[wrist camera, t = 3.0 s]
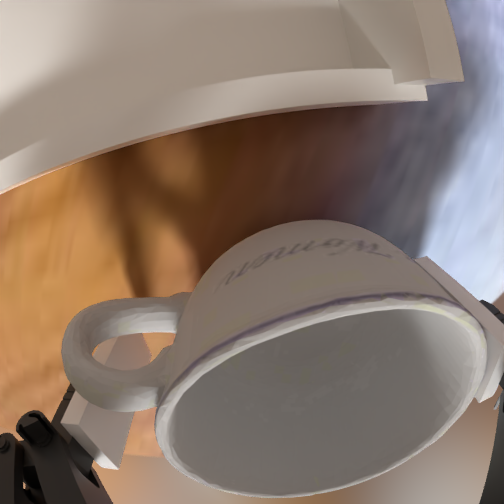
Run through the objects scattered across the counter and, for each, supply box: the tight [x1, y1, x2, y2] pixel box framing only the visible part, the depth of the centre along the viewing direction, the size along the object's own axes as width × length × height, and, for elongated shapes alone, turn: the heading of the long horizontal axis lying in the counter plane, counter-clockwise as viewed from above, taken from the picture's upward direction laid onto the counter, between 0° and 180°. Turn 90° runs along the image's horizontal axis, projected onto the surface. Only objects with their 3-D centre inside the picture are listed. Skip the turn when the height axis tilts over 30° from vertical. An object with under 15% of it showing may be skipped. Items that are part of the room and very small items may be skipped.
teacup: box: [61, 220, 488, 498], centre depth 11 cm, size 14×11×8 cm
